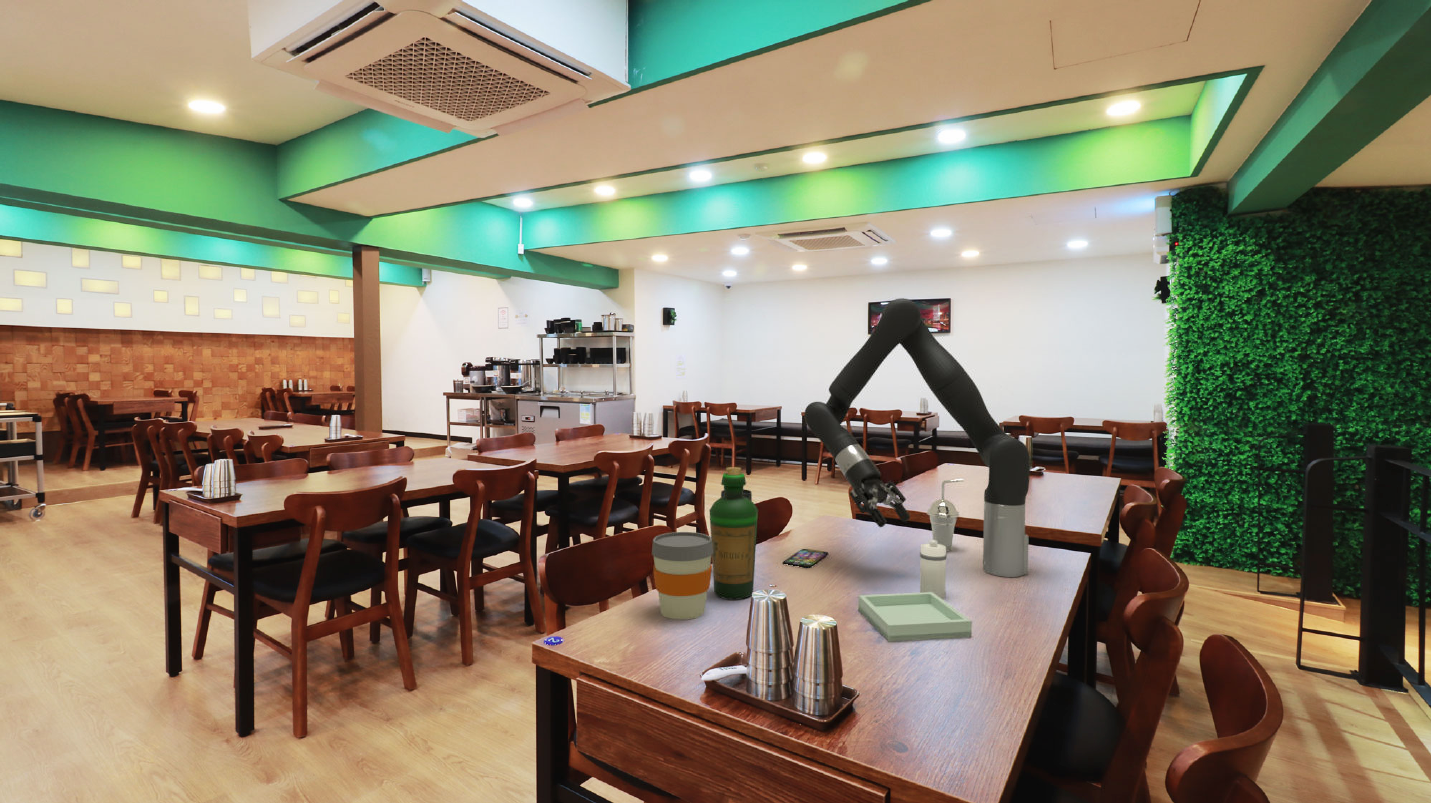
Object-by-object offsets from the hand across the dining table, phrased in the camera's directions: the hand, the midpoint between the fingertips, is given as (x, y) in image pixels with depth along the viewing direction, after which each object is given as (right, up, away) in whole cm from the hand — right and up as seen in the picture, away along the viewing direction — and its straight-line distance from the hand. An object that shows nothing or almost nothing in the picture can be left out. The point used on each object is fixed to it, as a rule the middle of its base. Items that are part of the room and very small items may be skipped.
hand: (895, 522), depth 150 cm
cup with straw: (+21, -13, +30) cm, 39 cm away
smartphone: (-18, -14, +21) cm, 31 cm away
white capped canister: (+6, -15, -7) cm, 17 cm away
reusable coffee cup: (-48, -15, -16) cm, 53 cm away
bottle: (-38, -15, -6) cm, 41 cm away
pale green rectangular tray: (-3, -15, -23) cm, 27 cm away
